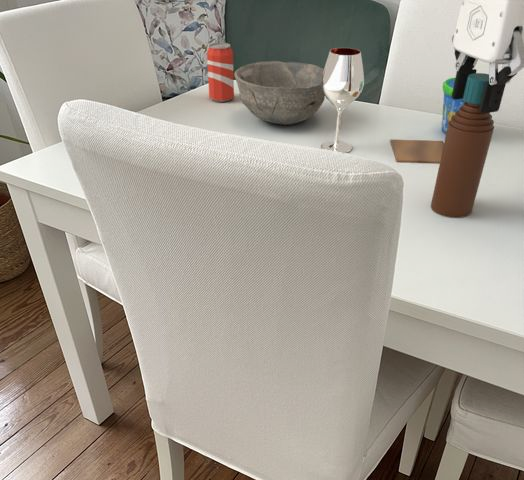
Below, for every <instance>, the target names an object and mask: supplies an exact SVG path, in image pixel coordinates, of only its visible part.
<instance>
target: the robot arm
mask: <svg viewBox="0 0 524 480" xmlns="http://www.w3.org/2000/svg"><path fill="white" fill-rule="evenodd" d="M451 43H452V45H453V49H454V57H455V60H456V62H455V64H454V68H455V70H456V74H455V77H456V78H455V77H454V78H455V82H454V87H453V92H452V99H454V100H456V99H463V96H464V91H465V87H466V82H467V79H468V76H469V75H470V74H474V73H477V69H476V65H477V63H478V62H479V61H481V62H483V63H487V64H488V74H489V83H486V84H485V86H484V90H483V94H482V98H481V102H480V106H479V112H480V113H482V114H483V113H490V114H491V113H496V112H499V110H500V108H501V103H502V100H503V97H504V92H505V88H506V85H507V84H509V83H510V82H511V80H512V79H513V78H514V77H515V76H516V75H517V74H518V72H520V71H522V70H523V69H524V0H462V1H461V5H460V9H459V13H458V18H457V22H456V26H455V30H454V34H453V35H452V37H451ZM499 65H501V70H499Z"/></svg>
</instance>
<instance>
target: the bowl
mask: <svg viewBox="0 0 524 480" xmlns="http://www.w3.org/2000/svg"><path fill="white" fill-rule="evenodd" d="M323 71H324V68H323V67H321V66H318V65H315V64H312V63H307V62H304V61H300V62H298V61H287V62H284V61H281V60H268V61H258V62H253V63H248V64H245V65H243V66H240V67H239V68H238V69H236V70H235V71H234V72H233V76H234V79H235V82H236V84H237V88H238V92H239V99H240V102H241V103H242V104H243V105H244V106H245V108H247V109H248V110H249V112H250V113H251V114H252V115H253V116H255V117H257V118H258V119H259V120H262V121H265V122H268V123H271V124H276V125H282V126H291V125H296V124H299V123H302V122H304V121H306V120H308V119H310V118H311V117H313V115H314V114H315V113H316V112H317V111H318V110H319V109H320V108H321V106H322V105H323V103H324V101H325V98H326V97H325V95H324V94H323V92H322V89H321V79H322V75H323Z"/></svg>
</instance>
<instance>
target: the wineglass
mask: <svg viewBox="0 0 524 480" xmlns="http://www.w3.org/2000/svg"><path fill="white" fill-rule="evenodd" d="M363 65H364V64H363V58H362V52H361V50H359V49H358V48H357V49H356V48H351V47H335V48H331V49H330V50H329V52H328V55H327V58H326V60H325V64H324V68H323V69H324V71H323V75H322V79H321V89H322V92H323V94H324V95H325V98H326V99H327V100H328V102H329V103H331V105H332V106H333V107H334V108H335V110H336V113H337V115H336V127H335V136H334V140H330V141H325V142H323V143H321V144H320V149H321V150H322V149H327V150H332V151H338V152H343V153H342V154H347V153H349V152H351V151H352V148H353V145H351V144H350V143H348V142H345V141H340V136H341V135H340V134H341V124H342V123H341V122H342V113H343V112H344V110H345V109H346V108H347V107H348V106H349V105H351V104H352V103H353V102H355V100H357V99H358V98H359V96H360V95H361V94H362V92H363V90H364V86H365V75H364V66H363Z"/></svg>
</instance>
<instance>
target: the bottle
mask: <svg viewBox="0 0 524 480" xmlns="http://www.w3.org/2000/svg"><path fill="white" fill-rule="evenodd" d="M479 106H480V104H472V103H468V102H465V103H464V105H463V106H462V107H460V109H459V110H458V111H457V112H456V113H455V115H453V116H452V117H451V120H450V121H449V123H448V128H447V132H446V133H445V138H444V141H443V142H444V146H443V151H442V156H441V160H440V163H439V166H438V171H437V175H436V179H435V185H434V189H433V193H432V197H431V201H430V202H431V203H430V208H431V210H432V212H434V213H436V214H438V215H440V216H443V217H447V218H455V219H456V218H458V219H459V218H460V219H461V218H465V217H468V216H470V215H471V214H472V212H473V208H474V206H475V201H476V197H477V194H478V191H479V186H480V182H481V178H482V175H483V171H484V167H485V164H486V160H487V157H488V153H489V149H490V145H491V141H492V138H493V134H494V130H495V125H494V124H495V121H494V119H493V115H492V114H491V112H490V113H483V114H482V113H480V112H479Z"/></svg>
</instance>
